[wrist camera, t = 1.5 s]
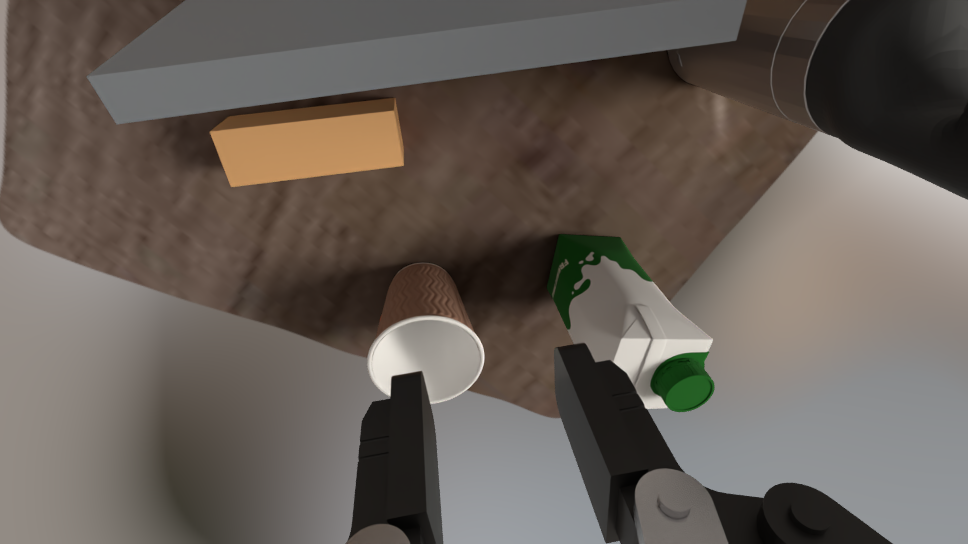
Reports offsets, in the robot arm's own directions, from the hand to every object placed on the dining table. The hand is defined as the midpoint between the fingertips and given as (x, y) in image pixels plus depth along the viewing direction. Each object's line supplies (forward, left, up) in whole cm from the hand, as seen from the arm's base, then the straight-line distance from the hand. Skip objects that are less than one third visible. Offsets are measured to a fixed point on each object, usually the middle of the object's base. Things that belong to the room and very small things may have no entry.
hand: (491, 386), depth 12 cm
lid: (0, -9, -15) cm, 18 cm away
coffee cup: (+4, +20, -35) cm, 41 cm away
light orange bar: (+10, +2, -35) cm, 37 cm away
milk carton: (-14, +20, -35) cm, 43 cm away
